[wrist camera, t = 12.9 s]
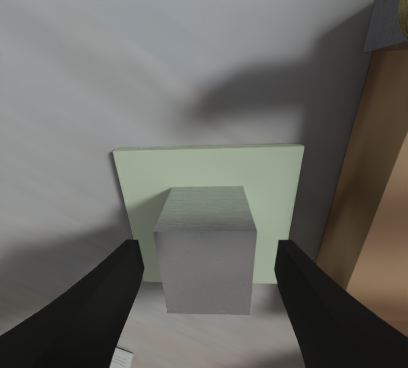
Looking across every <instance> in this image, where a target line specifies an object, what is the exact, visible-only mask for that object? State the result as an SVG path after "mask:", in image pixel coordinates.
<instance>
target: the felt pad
mask: <svg viewBox="0 0 408 368" xmlns="http://www.w3.org/2000/svg"><path fill="white" fill-rule="evenodd" d="M304 147H305V146H303V145H302V144H264V145H226V146H187V147H149V148H117V149H116V150H114V151H113V155H114V159H115V164H116V168H117V172H118V176H119V180H120V185H121V189H122V193H123V197H124V201H125V206H126V210H127V214H128V218H129V222H130V227H131V231H132V235H133V239H134V240H138V241H139V245H140V250H141V254H142V259H143V263H144V267H145V269H144V273H143V281H144V282H162V279H161V273H160V268H159V262H158V257H157V251H156V246H155V240H154V235H153V230H154V228H155V226H156V224H157V221H158V219H159V217H160V214H161V212H162V210H163V207H164V205H165V203H166V201H167V198H168V196H169V194H170V191H171V189H172V187H204V186H243V187H244V191H245V194H246V197H247V200H248V203H249V207H250V210H251V213H252V216H253V219H254V223H255V226H256V229H257V240H256V251H255V261H254V272H253V282H252V283H270V284H277V280H276V276H275V272H274V266H275V260H276V253H277V247H278V240H288V237H289V231H290V225H291V220H292V214H293V209H294V203H295V197H296V192H297V186H298V181H299V175H300V170H301V164H302V158H303V153H304Z"/></svg>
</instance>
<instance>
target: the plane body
mask: <svg viewBox="0 0 408 368" xmlns="http://www.w3.org/2000/svg"><path fill="white" fill-rule="evenodd" d="M316 265H317V266H318V267H320V268H321V269H322V270H323V271H324V272H325V273H326V274H327V275H328V276H329V277H330V278H332V279H333V280H334V281H335V282H336V283H337V284H338V285H340V286H341V287H342V288H343V289H344V290H345V291H347V292H348V293H349V294H350V295H351V296H353V297H354V298H355V299H356V300H358V301H359V302H360V303H361V304H363V305H364V306H365V307H367V308H368V309H369V310H371V311H372V312H373V313H375V314H376V315H377V316H378V317H380V318H381V319H383V320H384V321H385V322H387V323H388V324H389V325H391V326H392V327H394V328H395V329H397V330H398V331H399V332H401V333H402V334H404V335H405V336H407V337H408V50H395V51H382V52H373V55H372V58H371V62H370V66H369V69H368V73H367V77H366V80H365V84H364V88H363V91H362V95H361V99H360V102H359V106H358V110H357V113H356V117H355V121H354V124H353V128H352V132H351V136H350V139H349V143H348V147H347V150H346V154H345V158H344V161H343V165H342V169H341V172H340V176H339V180H338V183H337V187H336V191H335V194H334V198H333V202H332V206H331V209H330V213H329V217H328V220H327V224H326V228H325V231H324V235H323V239H322V242H321V246H320V250H319V253H318V257H317V261H316Z"/></svg>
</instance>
